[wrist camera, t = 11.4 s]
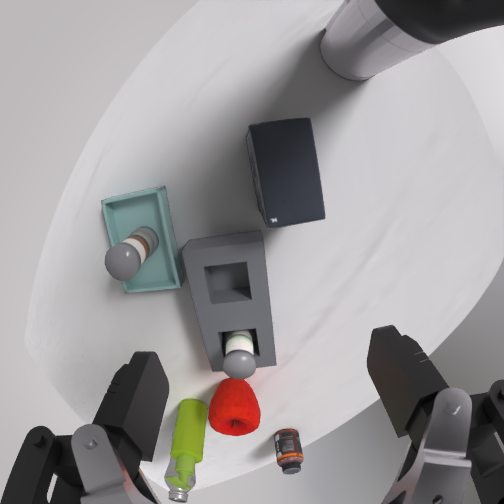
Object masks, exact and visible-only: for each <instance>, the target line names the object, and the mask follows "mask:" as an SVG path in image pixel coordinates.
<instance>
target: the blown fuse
mask: <svg viewBox="0 0 504 504" xmlns="http://www.w3.org/2000/svg"><path fill="white" fill-rule="evenodd" d="M158 245H159V238H158V235H157V233H156V232H155V231H154V230H153V229H152V228H150V227H147V226H142V227H139V228H137V229H136V230H134V231H133V232H132V233H131V234H130V236H128V237H127V238H126V239H124V240H123V241H122V242H121V243H117V244H116V245H114V246H113V247H112V248H111V249H109V250H108V251H107V253H106V255H105V266H106V269H107V271H108V272H109V273H110V275H111V276H112V277H114V278H115V279H117V280H120V281H127V280H130V279H131V278H133V277H134V275H135V274H136V273H137V272H138V271H139V269H140V267H141V265H142V264H143V263H144V262H145V261H146V259H147V258H148V257H150V256H151V255H152V254H153V253H154V252H155V251H156V249H157V248H158Z"/></svg>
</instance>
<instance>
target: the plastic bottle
mask: <svg viewBox="0 0 504 504" xmlns="http://www.w3.org/2000/svg"><path fill="white" fill-rule="evenodd" d="M174 431H175V430H174ZM173 436H174V432H173V434H172V442H173ZM175 466H176V459H174V458H173V457H172V456H171V458H170V462H169V465H168V468H167V470H166V473H165V476H164V478H165V477H166V476H176V477H177V478H178V479H179V474H178V473H176V472H175ZM165 482H166V484H167V486H168V487H169V488H170V491H169V499H170V500H172V501H175V502H180V503H186V502H187V497H188V494H187V492H189V491H190V490H191V489H192V488H193V487H194V485H195V483H196V477H195V468H194V474H193V475H191V476H189V479H188V485H189V486H191V487H192V488H191V489H180V488H178V487H176V486H174V485H173V484H171V483H170V482H169V481H168V480H167V479H166V478H165Z"/></svg>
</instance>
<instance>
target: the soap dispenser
mask: <svg viewBox="0 0 504 504" xmlns="http://www.w3.org/2000/svg"><path fill="white" fill-rule="evenodd" d="M206 417H207V406H206V405H205V404H204V403H203V402H201V401H199V400H196V399H185V400H183V401H181V403H180V406H179V411H178V416H177V421H176V426H175V431H174V436H173V442H172V447H171V453H170V455H171V456H172V457H173V458H174V459H176V466H175V472H176V473H178V474H179V479H178V478H177V477H176V476H166V477H165V478H166V479H167V480H168V481H169V482H170V483H171V484H173V485H174V486H176V487H178V488H180V489H191V488H192V487H191V486H189V485H188V479H189V476H191V475H193V474H194V468H195V463H199V462H201V461H202V459H203V448H204V437H205V427H206Z"/></svg>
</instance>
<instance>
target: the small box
mask: <svg viewBox="0 0 504 504" xmlns="http://www.w3.org/2000/svg"><path fill="white" fill-rule="evenodd" d="M246 141H247V147H248V152H249V157H250V163H251V169H252V174H253V181H254V186H255V192H256V197H257V201H258V206H259V211H260V212H261V214H262V216H263V219H264V221H265V224H266V226H267V228H268V229H274V228H279V227H285V226H291V225H295V224H301V223H307V222H312V221H317V220H323V219H325V210H324V202H323V194H322V187H321V180H320V173H319V167H318V160H317V154H316V148H315V142H314V136H313V130H312V125H311V120H310V118H295V119H286V120H279V121H271V122H265V123H259V124H253V125H250V126H249V131H248V133H247V136H246Z"/></svg>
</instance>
